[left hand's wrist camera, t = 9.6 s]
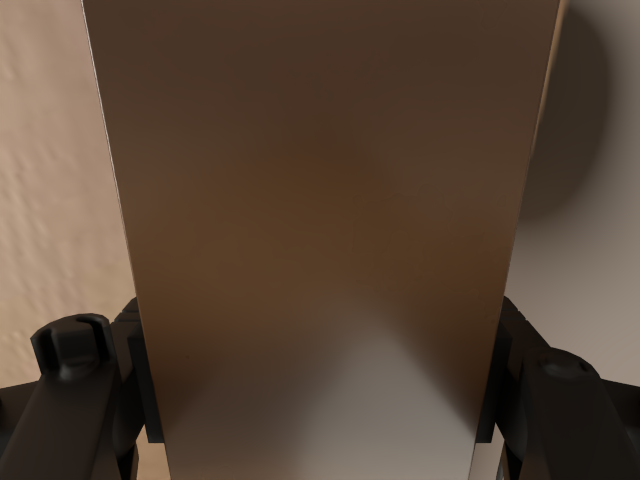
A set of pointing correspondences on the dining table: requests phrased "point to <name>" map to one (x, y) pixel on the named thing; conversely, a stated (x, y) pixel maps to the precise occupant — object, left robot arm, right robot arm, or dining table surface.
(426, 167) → the beam
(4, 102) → the dining table surface
